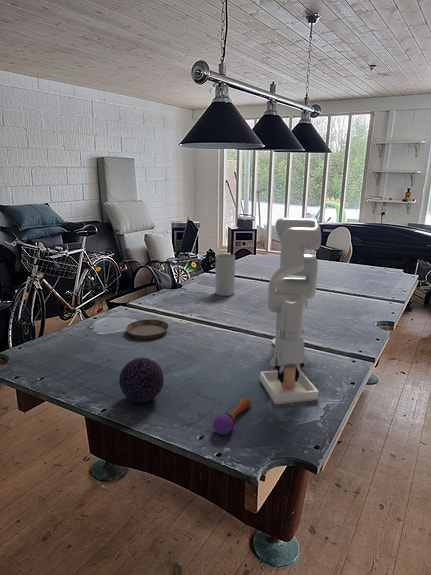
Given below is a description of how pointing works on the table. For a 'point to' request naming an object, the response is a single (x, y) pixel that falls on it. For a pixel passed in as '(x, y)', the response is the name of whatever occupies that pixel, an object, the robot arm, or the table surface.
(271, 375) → the tray
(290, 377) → the cylinder
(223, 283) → the cylinder vase
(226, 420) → the brown purple handled piece
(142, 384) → the toy ball
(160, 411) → the table surface
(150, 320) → the plant saucer
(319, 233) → the robot arm
